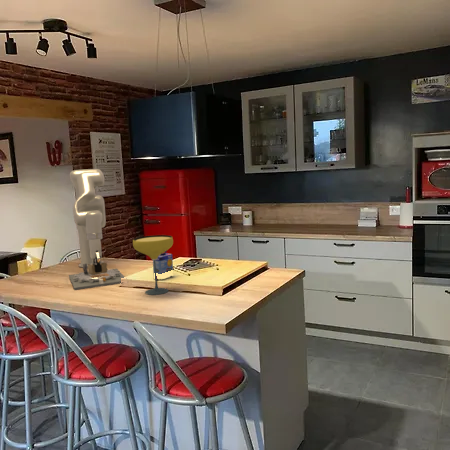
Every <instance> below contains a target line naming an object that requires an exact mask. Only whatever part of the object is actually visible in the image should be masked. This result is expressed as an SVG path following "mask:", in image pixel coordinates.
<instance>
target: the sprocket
mask: <svg viewBox="0 0 450 450" xmlns="http://www.w3.org/2000/svg"><path fill="white" fill-rule="evenodd" d="M82 268H83V271H81V272H78V274H79V275H74V278H73V280H74V281H79V282H80V283H82V282H89V283H93V282H94V281H99V279H103V281H106V280H107V279H115V278H116V276H120V272H121V271H120V270H119V269H118V270H116V271H114V269H115V268H110V269H107V272H106V273H101V274H96V275H91V274H89V271H88V267H87V264H83V267H82Z"/></svg>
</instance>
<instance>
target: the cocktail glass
mask: <svg viewBox="0 0 450 450" xmlns="http://www.w3.org/2000/svg"><path fill="white" fill-rule="evenodd" d="M173 244H174V239H173V236H172V235H166V234H155V235H154V234H153V235H145V236H139V237H136V238H133V239H132V246H133V248H134V250H136V252H138V253H141V254H143V255H146V256H148V257H149V258H150V259H151V260H152V261H153V260H154V269H155V279H154V280H155V283H154V287H153V288H150V289H147V290H146V291H144V293H145V294H146V295H149V296H157V295H164V294H166V293H168V292H169V289H168V288H166V289H165V287H159V284H158V280H157V276H156V264H155V260H156V259H157V258H158V256H159V255H160V254H162V253H165V251H166V252H167V251H168V250H170V248H172V246H173Z"/></svg>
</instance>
